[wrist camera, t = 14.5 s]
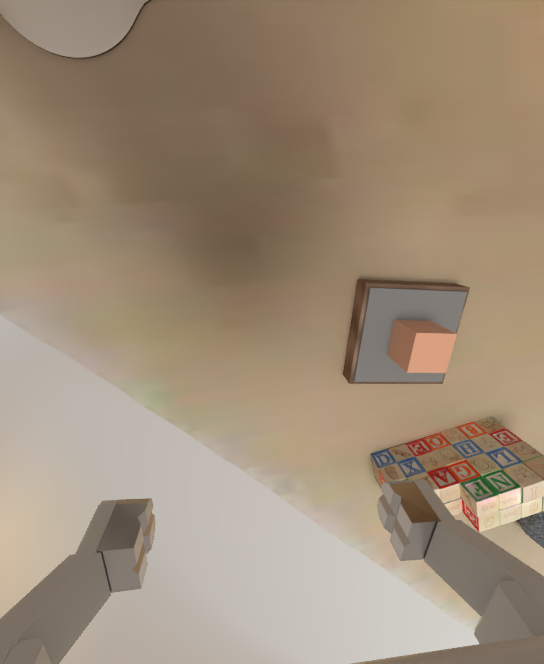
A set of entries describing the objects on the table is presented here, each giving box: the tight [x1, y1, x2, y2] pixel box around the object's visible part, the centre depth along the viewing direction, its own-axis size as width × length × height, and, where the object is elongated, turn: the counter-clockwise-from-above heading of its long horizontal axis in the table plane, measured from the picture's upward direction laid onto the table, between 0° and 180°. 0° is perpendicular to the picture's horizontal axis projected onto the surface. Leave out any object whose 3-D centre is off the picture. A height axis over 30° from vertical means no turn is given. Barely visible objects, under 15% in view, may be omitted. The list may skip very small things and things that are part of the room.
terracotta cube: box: [387, 320, 457, 373], centre depth 36 cm, size 5×5×5 cm
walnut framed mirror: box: [343, 280, 470, 384], centre depth 40 cm, size 14×14×3 cm
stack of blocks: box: [371, 417, 544, 532], centre depth 44 cm, size 21×6×12 cm, turn 106°
